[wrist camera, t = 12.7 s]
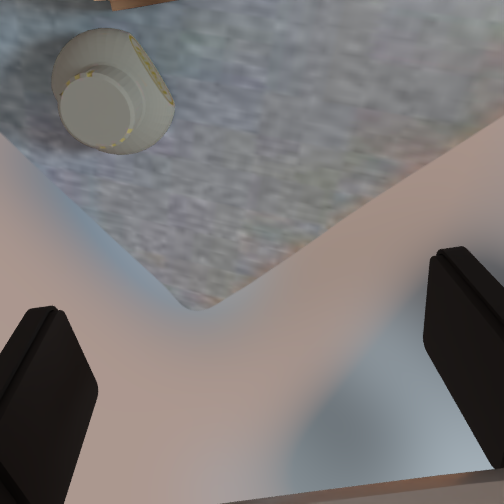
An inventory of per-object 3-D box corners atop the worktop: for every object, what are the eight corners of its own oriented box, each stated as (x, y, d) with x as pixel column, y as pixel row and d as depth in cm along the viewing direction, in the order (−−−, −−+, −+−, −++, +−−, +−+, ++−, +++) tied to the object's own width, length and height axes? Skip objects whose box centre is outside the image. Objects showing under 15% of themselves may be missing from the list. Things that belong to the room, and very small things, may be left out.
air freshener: (188, 117, 44) (179, 147, 35) (122, 156, 46) (98, 194, 37) (121, 9, 39) (92, 13, 30) (49, 58, 40) (2, 75, 32)
